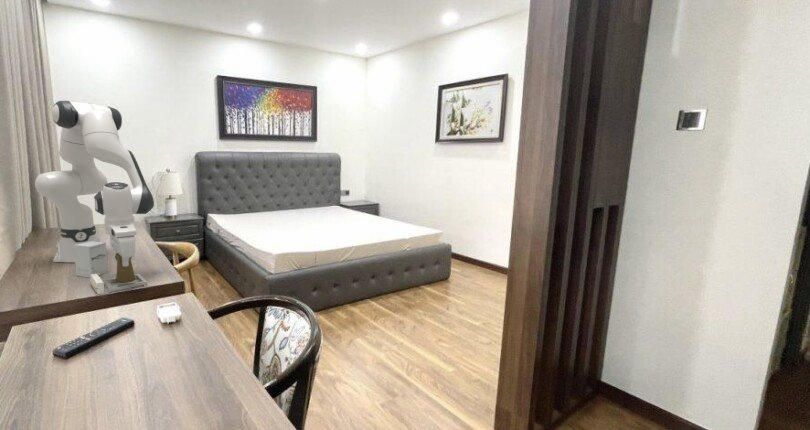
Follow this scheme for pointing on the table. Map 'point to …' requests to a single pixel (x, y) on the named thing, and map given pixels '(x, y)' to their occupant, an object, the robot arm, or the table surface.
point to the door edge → (97, 283)
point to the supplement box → (90, 258)
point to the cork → (124, 271)
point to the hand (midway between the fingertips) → (123, 264)
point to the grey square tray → (123, 284)
